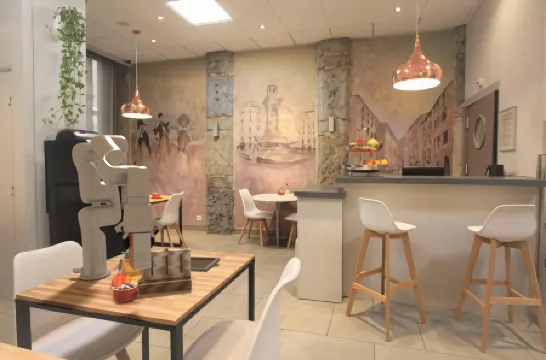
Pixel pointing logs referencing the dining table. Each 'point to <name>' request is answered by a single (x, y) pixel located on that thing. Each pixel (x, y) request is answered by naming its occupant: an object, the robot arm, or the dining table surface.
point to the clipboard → (203, 263)
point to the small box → (140, 250)
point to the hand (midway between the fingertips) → (139, 247)
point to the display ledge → (167, 272)
